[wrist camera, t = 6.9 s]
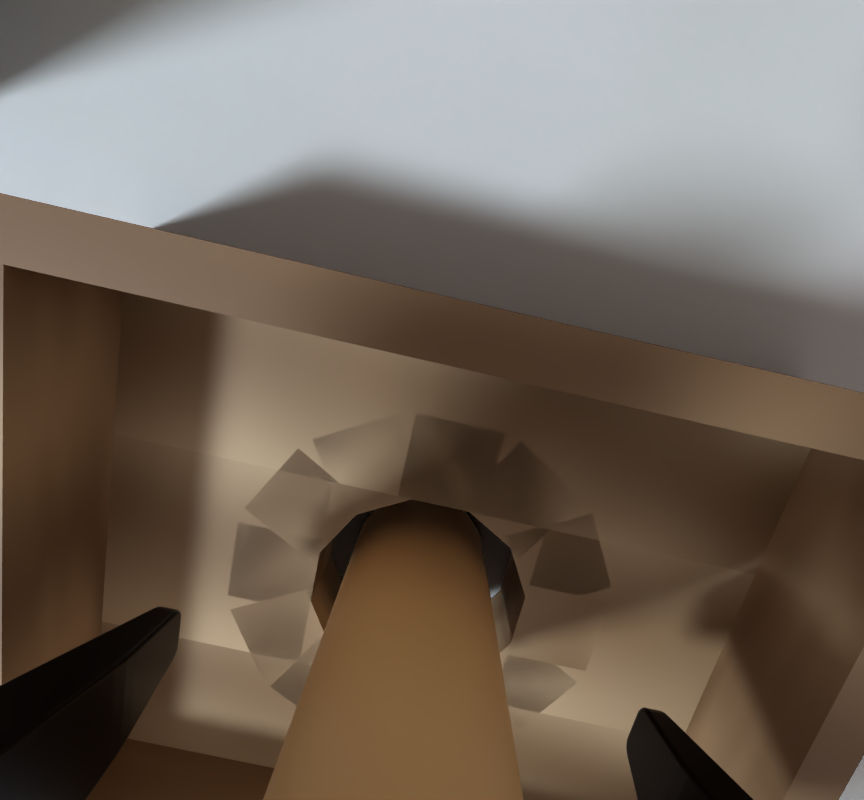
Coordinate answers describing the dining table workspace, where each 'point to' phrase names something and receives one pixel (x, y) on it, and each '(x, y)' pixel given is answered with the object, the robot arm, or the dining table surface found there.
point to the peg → (405, 674)
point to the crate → (423, 481)
